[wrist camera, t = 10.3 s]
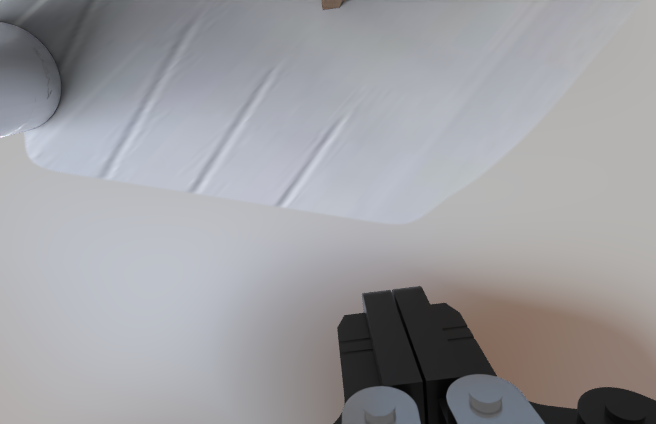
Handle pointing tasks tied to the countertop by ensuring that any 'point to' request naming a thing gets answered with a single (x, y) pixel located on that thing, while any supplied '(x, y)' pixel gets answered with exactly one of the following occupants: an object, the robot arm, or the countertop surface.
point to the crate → (331, 4)
